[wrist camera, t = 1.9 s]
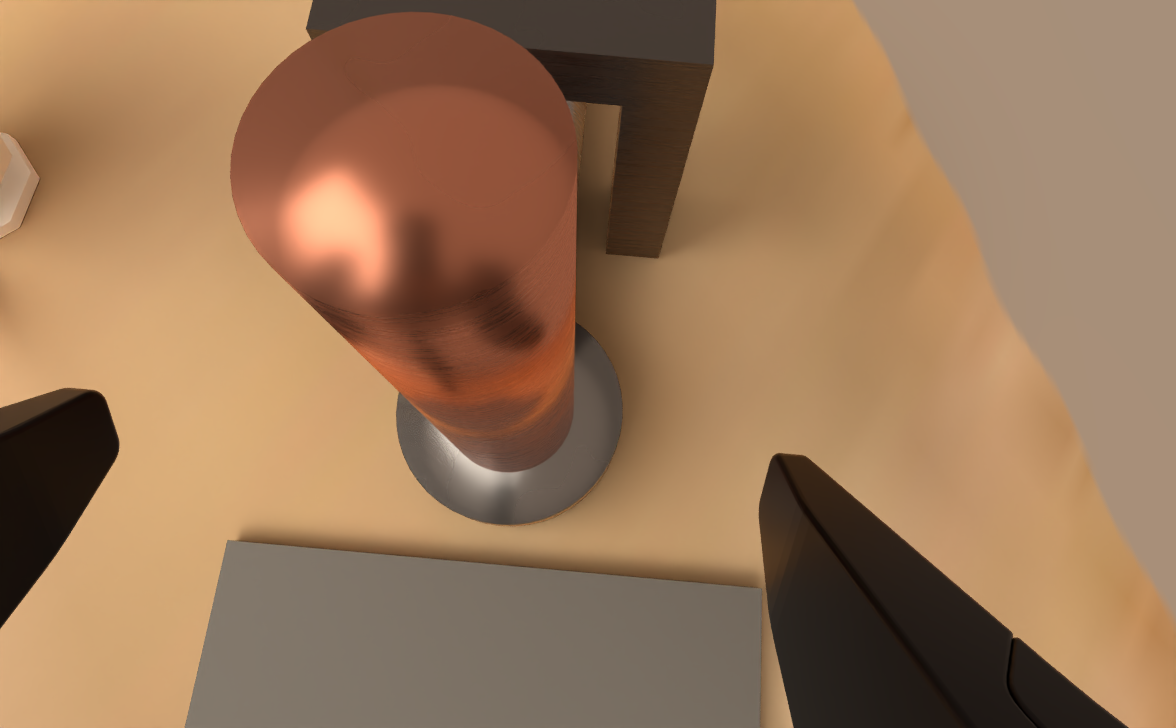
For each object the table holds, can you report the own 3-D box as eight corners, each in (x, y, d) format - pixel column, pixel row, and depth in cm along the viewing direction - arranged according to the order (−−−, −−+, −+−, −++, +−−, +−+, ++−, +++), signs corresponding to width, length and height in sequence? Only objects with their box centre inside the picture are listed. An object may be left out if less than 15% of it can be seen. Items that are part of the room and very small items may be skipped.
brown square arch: (658, 258, 21) (713, 64, 13) (409, 236, 21) (306, 28, 13) (662, 188, 21) (717, -38, 13) (421, 167, 21) (330, -72, 13)
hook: (611, 535, 18) (695, 484, 6) (390, 516, 18) (5, 422, 6) (649, 23, 23) (740, -609, 11) (474, 7, 23) (358, -644, 11)
